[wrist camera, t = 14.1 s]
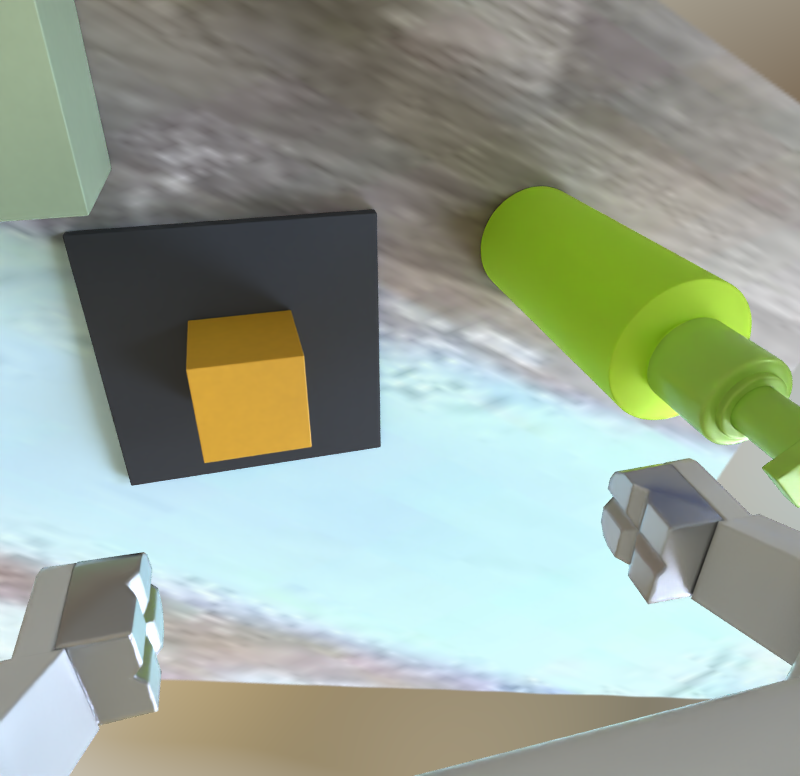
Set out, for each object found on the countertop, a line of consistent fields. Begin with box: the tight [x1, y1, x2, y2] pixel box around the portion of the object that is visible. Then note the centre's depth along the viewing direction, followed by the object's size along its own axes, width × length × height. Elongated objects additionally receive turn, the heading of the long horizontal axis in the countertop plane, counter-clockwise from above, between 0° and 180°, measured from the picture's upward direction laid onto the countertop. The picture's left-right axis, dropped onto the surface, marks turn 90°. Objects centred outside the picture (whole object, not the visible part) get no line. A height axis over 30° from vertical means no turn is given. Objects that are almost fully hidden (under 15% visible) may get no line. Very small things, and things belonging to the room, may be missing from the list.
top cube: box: [186, 310, 312, 463], centre depth 31 cm, size 5×5×5 cm
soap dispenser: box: [481, 186, 800, 508], centre depth 26 cm, size 6×7×20 cm
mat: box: [63, 210, 381, 485], centre depth 33 cm, size 14×14×1 cm
